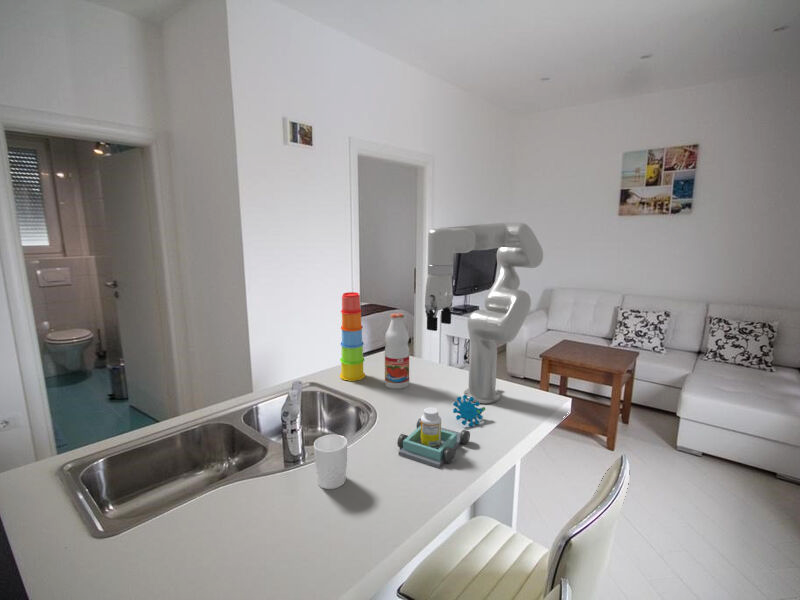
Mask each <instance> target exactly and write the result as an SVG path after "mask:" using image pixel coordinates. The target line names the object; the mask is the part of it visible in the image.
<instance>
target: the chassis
mask: <svg viewBox="0 0 800 600" xmlns="http://www.w3.org/2000/svg"><path fill="white" fill-rule="evenodd" d="M470 436H471V432H470V431H469V430H465V429H463V430H461V432H459V431H455V430H453V429H447V428H445V427H441V445H440V446H439V447H438V448H436V449H435V448H432V447H429V446H425V445H422V444H421V417H420V418H419V419H418V420H417V423H416V429H415V430H414V431H412V432H411V434H409V435H407V434H404V433H401V434H400V435H399V436H398V438H397V443H396V444H397V447H398V448H400V449H399V450H398V456H400V457H404V458H406V459H409V460H413V461H416V462H420V463H422V464H425V465H429V466H431V467H434V468H437V469H440V467H442V466H443V464H444V463H448V464H452V463H453V460H454V459H455V451H456V449H457V448H458V447H459V445H461V444H464V445H468V443H469V442H470Z"/></svg>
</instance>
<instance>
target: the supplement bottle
mask: <svg viewBox="0 0 800 600" xmlns="http://www.w3.org/2000/svg"><path fill="white" fill-rule="evenodd" d="M439 414H440V413H439V409H438V408H436V407H426V408H424V410H423V414H422V415H421V416H420V418H421V444H422V445H425V446H429V447H432V448H435V449H436V448H438V447H439V446H440V445H441V428H442V418H441V415H439Z"/></svg>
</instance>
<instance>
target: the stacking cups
mask: <svg viewBox="0 0 800 600" xmlns="http://www.w3.org/2000/svg"><path fill="white" fill-rule="evenodd" d="M340 313H341V327H340V329H341V342H340V346H341V357H340V360H339V361H340V363H341V367H340V368H341V369H340V370H341V371H340V372H341V373H340V374H339V377H340V379H341V380H344V381H346V380H348V381H347V382H356V380H357V381H361V380H363V379H364V378H365V377H366V374H365V372H364V362H365V360H366V359H365V358H364V355H363V352H364V349H363V346H364V344H365V343H364V341H363V330H362V329H363V325H362V314H361V313H362V309H361V295H360V294H359V292H353V291H352V292H350V291H349V292H344V293H342V295H341V311H340Z"/></svg>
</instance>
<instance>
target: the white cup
mask: <svg viewBox="0 0 800 600" xmlns="http://www.w3.org/2000/svg"><path fill="white" fill-rule="evenodd" d="M313 452H314V454H313V455H314V463H315V472H316V476H317V477H316V479H317V484H318V486H319V487H320V488H322V489H325V490H334V489H337V488H340V487H341V486H342V485H344V484H345V483H346V480H347V466H348V464H347V462H348V439H347V438H346V437H345V436H343V435H340V434H326V435H322V436H320V437H318V438H316V439H315V440H314V441H313Z"/></svg>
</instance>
